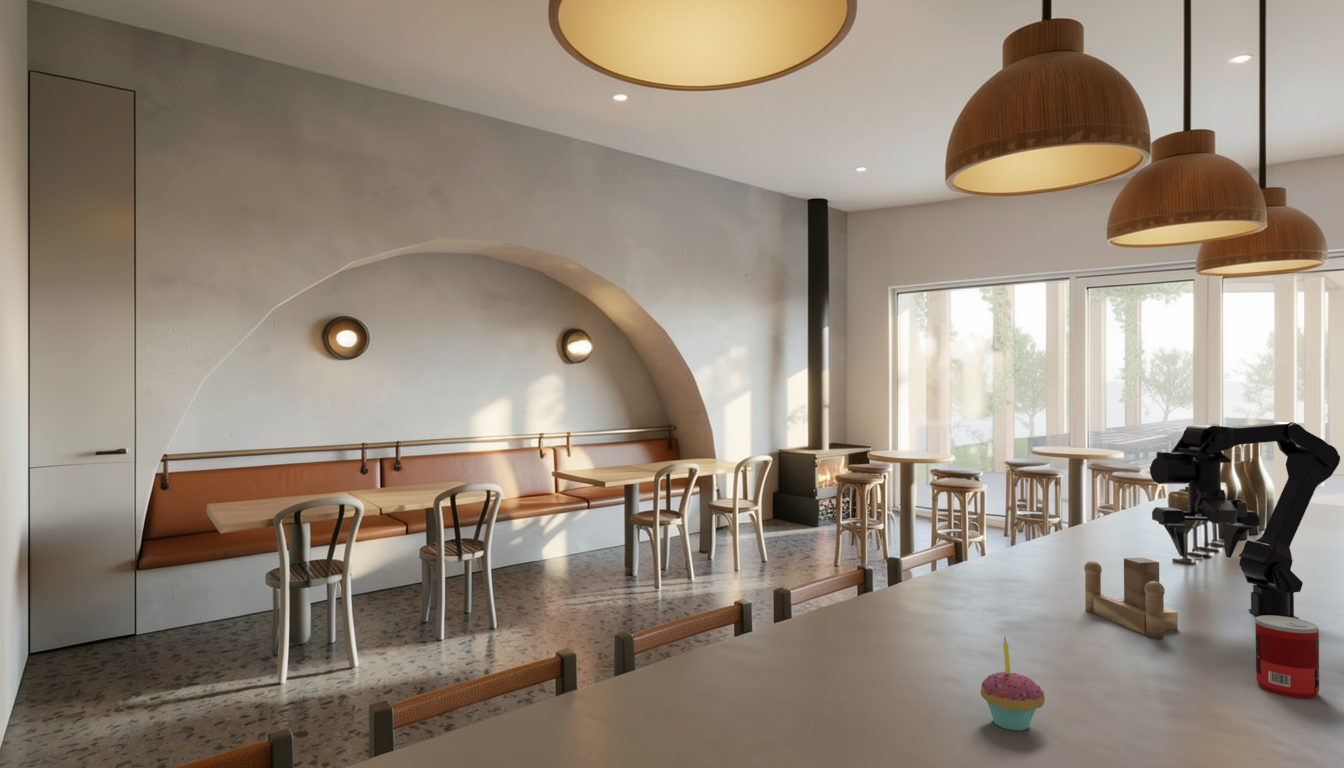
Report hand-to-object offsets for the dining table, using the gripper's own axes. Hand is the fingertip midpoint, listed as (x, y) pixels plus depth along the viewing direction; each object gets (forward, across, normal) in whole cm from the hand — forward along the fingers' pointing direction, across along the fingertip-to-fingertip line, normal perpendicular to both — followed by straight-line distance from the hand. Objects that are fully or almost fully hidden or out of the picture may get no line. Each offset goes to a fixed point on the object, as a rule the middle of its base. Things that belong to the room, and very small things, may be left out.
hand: (1205, 556), depth 163 cm
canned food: (+13, -9, -41) cm, 44 cm away
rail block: (+13, -15, -5) cm, 20 cm away
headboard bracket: (+13, -16, -5) cm, 21 cm away
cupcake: (+13, -57, -60) cm, 84 cm away
